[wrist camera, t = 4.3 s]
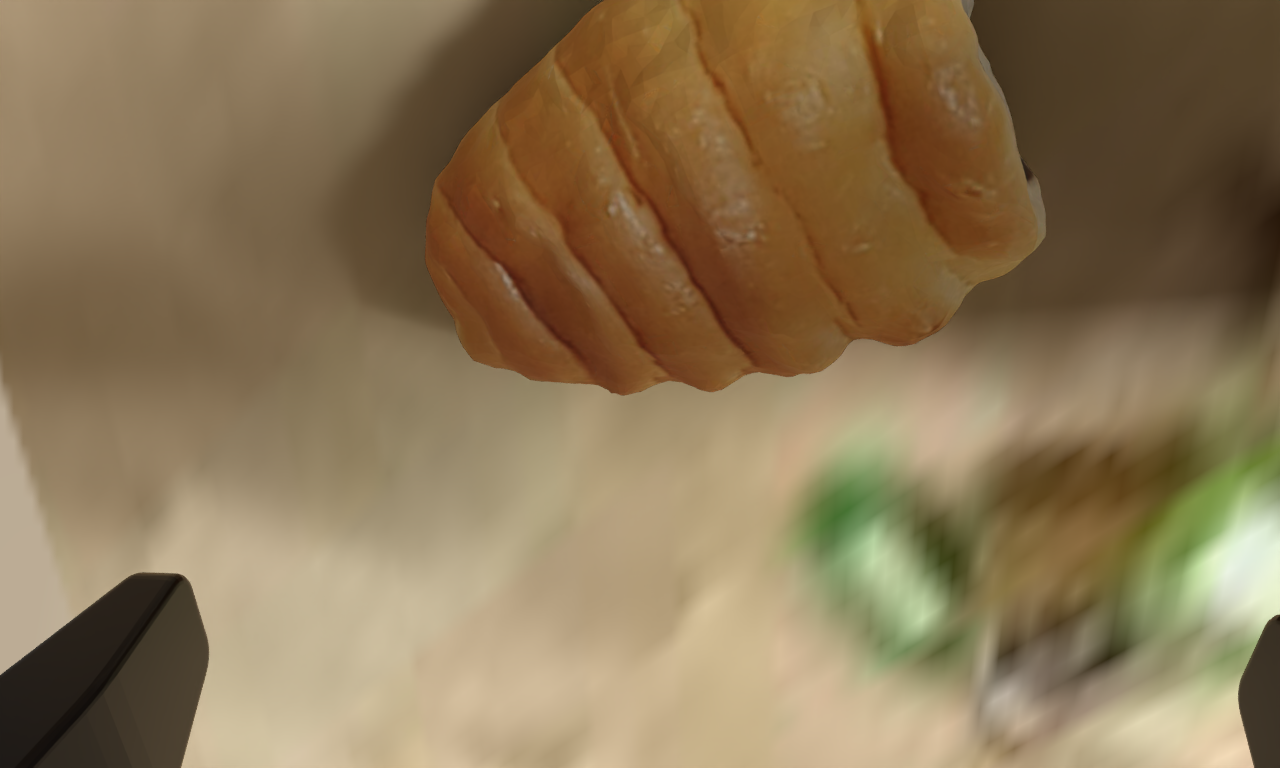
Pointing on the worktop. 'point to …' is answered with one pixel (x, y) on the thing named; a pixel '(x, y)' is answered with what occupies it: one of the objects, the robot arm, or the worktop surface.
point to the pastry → (731, 192)
